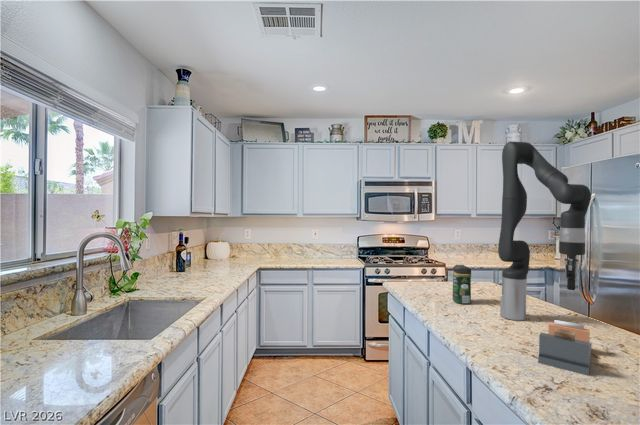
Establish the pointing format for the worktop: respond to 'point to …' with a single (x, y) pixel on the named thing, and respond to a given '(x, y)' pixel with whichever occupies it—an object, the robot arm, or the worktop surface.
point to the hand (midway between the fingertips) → (571, 289)
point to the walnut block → (564, 333)
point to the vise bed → (564, 353)
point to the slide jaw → (570, 329)
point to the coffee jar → (461, 284)
